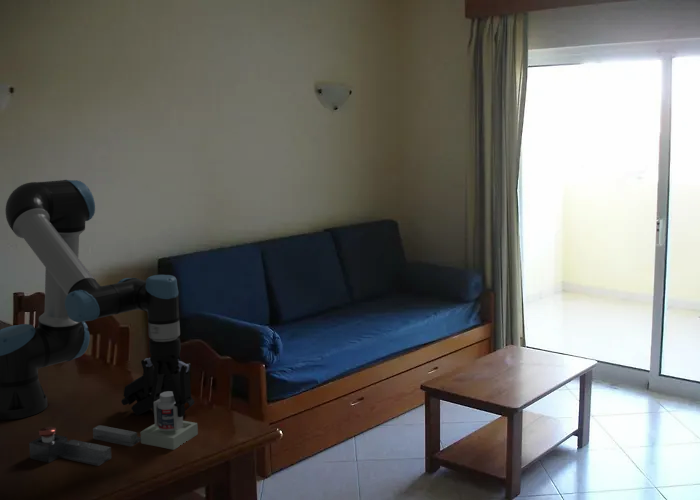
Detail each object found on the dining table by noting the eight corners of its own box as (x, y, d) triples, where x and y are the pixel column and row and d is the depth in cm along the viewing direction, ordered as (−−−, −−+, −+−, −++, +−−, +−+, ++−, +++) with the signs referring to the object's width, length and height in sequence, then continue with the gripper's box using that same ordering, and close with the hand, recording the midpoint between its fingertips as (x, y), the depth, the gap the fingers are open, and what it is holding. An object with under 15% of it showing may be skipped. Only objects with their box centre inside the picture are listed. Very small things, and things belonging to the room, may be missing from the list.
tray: (141, 443, 180) (140, 431, 179) (166, 428, 189) (165, 417, 189) (173, 449, 176) (173, 438, 176) (197, 434, 185) (197, 423, 185)
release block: (30, 458, 172) (29, 442, 171) (49, 448, 177) (48, 433, 177) (49, 462, 170) (48, 446, 169) (68, 452, 175) (67, 437, 174)
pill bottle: (161, 433, 179) (159, 399, 177) (156, 425, 183) (154, 392, 182) (182, 429, 181) (180, 395, 180) (177, 421, 186) (175, 388, 184)
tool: (192, 409, 194) (164, 361, 193) (137, 438, 199) (110, 392, 198) (201, 401, 200) (174, 355, 199) (148, 429, 205) (121, 384, 204)
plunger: (37, 454, 172) (35, 431, 171) (49, 448, 176) (47, 425, 175) (49, 457, 171) (47, 434, 170) (61, 450, 174) (59, 428, 173)
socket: (59, 457, 172) (58, 446, 172) (105, 432, 187) (104, 422, 186) (98, 466, 168) (97, 454, 167) (142, 439, 182) (142, 429, 182)
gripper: (124, 337, 178) (130, 426, 182) (186, 345, 171) (190, 437, 175) (144, 330, 185) (149, 415, 189) (204, 337, 178) (207, 426, 182)
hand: (169, 426), depth 182 cm, fingers closed on pill bottle, 5 cm apart
